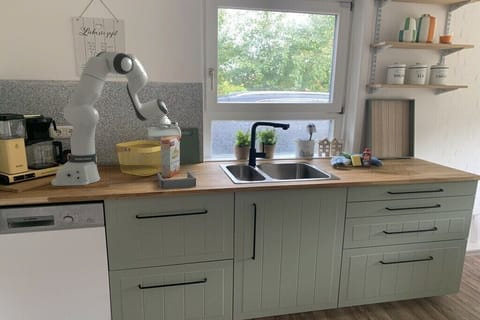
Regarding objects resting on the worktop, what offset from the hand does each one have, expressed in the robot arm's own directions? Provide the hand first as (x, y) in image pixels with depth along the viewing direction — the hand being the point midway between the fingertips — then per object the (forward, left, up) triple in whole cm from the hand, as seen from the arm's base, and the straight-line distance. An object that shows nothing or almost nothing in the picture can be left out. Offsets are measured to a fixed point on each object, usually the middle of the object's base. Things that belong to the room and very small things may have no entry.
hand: (165, 143), depth 207 cm
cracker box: (0, -18, -15) cm, 23 cm away
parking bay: (0, -36, -14) cm, 39 cm away
